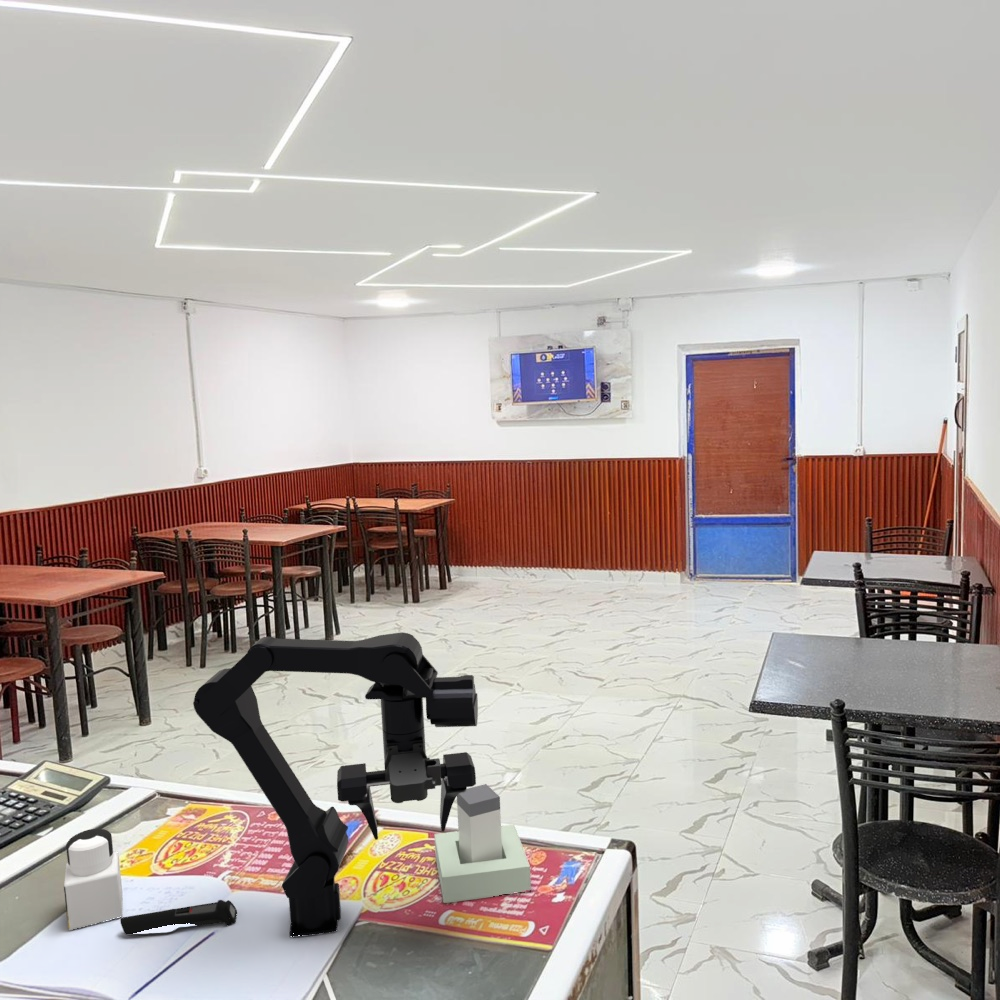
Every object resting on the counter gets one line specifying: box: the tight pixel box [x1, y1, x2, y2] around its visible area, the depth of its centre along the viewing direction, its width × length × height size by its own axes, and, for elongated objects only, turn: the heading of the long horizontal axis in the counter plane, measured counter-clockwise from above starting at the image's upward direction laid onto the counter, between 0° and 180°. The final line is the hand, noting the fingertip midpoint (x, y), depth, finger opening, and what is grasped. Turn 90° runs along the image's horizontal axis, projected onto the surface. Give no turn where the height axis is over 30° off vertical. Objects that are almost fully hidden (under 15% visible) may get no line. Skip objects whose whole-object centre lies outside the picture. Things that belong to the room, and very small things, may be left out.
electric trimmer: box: [119, 899, 238, 935], centre depth 125 cm, size 4×16×3 cm, turn 101°
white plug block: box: [456, 783, 502, 864], centre depth 135 cm, size 5×5×12 cm
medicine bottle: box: [63, 828, 124, 931], centre depth 129 cm, size 7×7×12 cm
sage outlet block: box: [433, 824, 532, 904], centre depth 135 cm, size 13×13×4 cm
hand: (409, 834), depth 123 cm, fingers open, 9 cm apart
